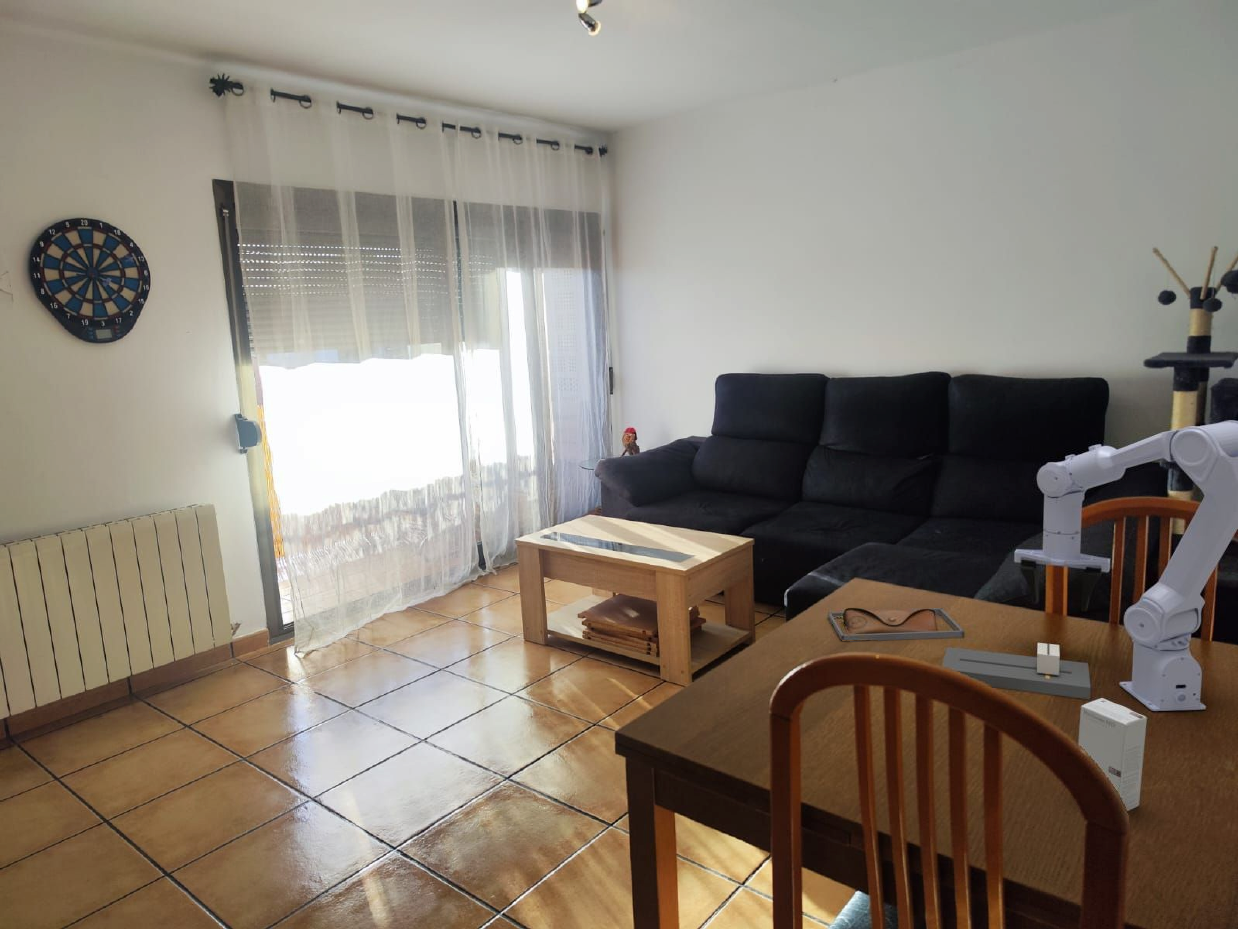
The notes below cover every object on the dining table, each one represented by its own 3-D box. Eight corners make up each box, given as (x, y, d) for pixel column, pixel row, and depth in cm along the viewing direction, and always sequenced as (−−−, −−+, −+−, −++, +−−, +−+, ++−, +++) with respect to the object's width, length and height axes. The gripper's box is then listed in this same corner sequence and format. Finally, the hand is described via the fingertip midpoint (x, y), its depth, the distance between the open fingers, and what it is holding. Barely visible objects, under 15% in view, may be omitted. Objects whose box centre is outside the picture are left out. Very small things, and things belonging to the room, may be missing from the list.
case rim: (964, 637, 158) (964, 631, 158) (841, 641, 160) (841, 635, 160) (941, 613, 171) (941, 608, 171) (828, 618, 173) (828, 612, 172)
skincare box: (1073, 793, 107) (1076, 704, 105) (1096, 783, 109) (1100, 696, 107) (1119, 817, 101) (1123, 724, 99) (1143, 807, 103) (1148, 715, 101)
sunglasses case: (846, 637, 162) (844, 603, 164) (843, 643, 168) (842, 610, 170) (944, 638, 158) (941, 603, 161) (938, 644, 165) (934, 610, 167)
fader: (1058, 663, 139) (1059, 644, 139) (1058, 675, 135) (1059, 655, 134) (1037, 660, 141) (1037, 642, 140) (1036, 672, 136) (1037, 653, 136)
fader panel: (1087, 674, 140) (1087, 663, 140) (1090, 699, 131) (1090, 687, 131) (947, 657, 150) (947, 646, 149) (940, 680, 141) (940, 668, 141)
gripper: (1011, 531, 145) (1009, 606, 147) (1107, 540, 136) (1104, 619, 138) (1019, 522, 150) (1018, 594, 152) (1112, 530, 142) (1109, 607, 144)
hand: (1059, 606), depth 146 cm, fingers open, 7 cm apart
